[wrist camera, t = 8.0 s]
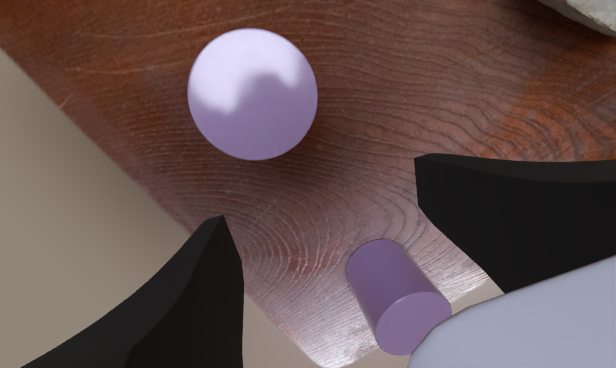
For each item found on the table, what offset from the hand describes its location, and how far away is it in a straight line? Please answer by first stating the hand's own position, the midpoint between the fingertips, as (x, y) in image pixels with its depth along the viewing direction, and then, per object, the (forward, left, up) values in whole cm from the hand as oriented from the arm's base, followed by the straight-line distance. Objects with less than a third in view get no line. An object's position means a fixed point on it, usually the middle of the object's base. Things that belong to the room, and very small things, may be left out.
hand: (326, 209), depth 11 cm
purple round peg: (+5, -11, -9) cm, 16 cm away
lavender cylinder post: (-2, +4, -9) cm, 10 cm away
